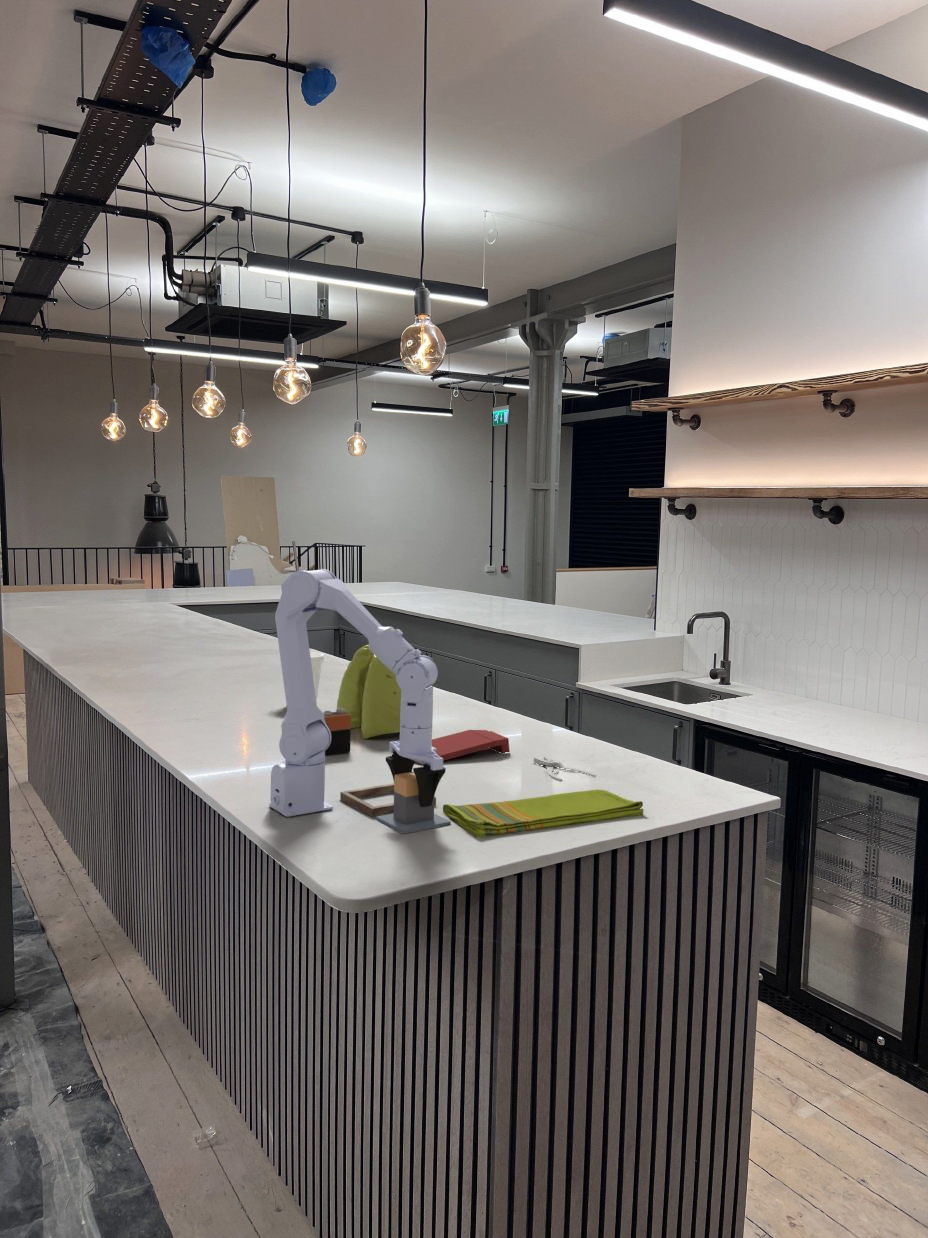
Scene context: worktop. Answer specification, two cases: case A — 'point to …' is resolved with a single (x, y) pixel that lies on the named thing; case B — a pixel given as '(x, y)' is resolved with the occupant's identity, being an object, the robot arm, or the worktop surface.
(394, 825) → the mat
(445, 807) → the dish towel
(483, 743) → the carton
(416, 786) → the orange grey tall block
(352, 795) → the frame
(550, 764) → the pliers
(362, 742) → the worktop surface
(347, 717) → the battery
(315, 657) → the cup
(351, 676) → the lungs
